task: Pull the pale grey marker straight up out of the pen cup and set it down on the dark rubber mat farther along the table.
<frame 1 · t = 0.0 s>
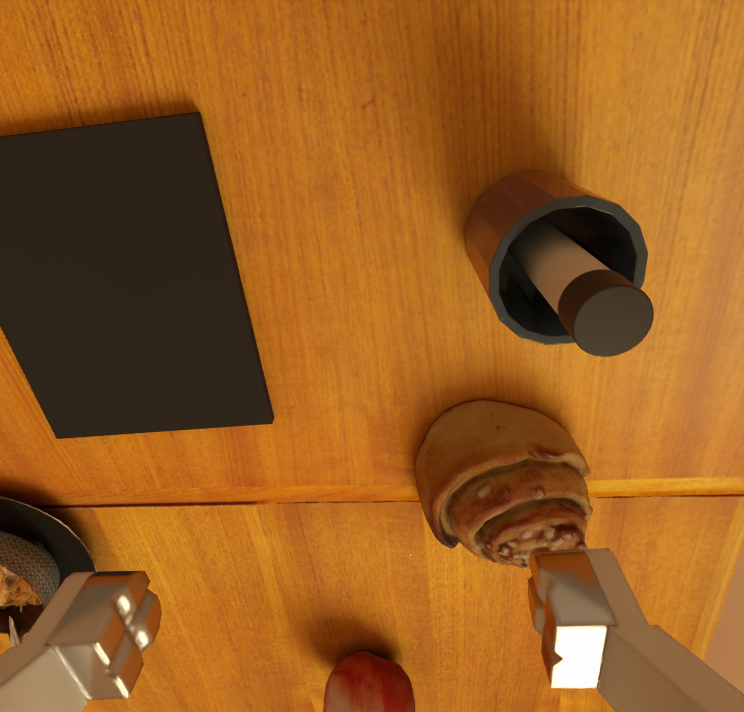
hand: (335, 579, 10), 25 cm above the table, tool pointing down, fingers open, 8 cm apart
marker: (524, 233, 31), point 1 cm above the table, touching pen cup
soup bowl: (29, 547, 47), on the table
pastry: (502, 470, 41), on the table
pen cup: (522, 231, 32), on the table
fruit: (370, 661, 54), on the table
mat: (120, 299, 35), on the table
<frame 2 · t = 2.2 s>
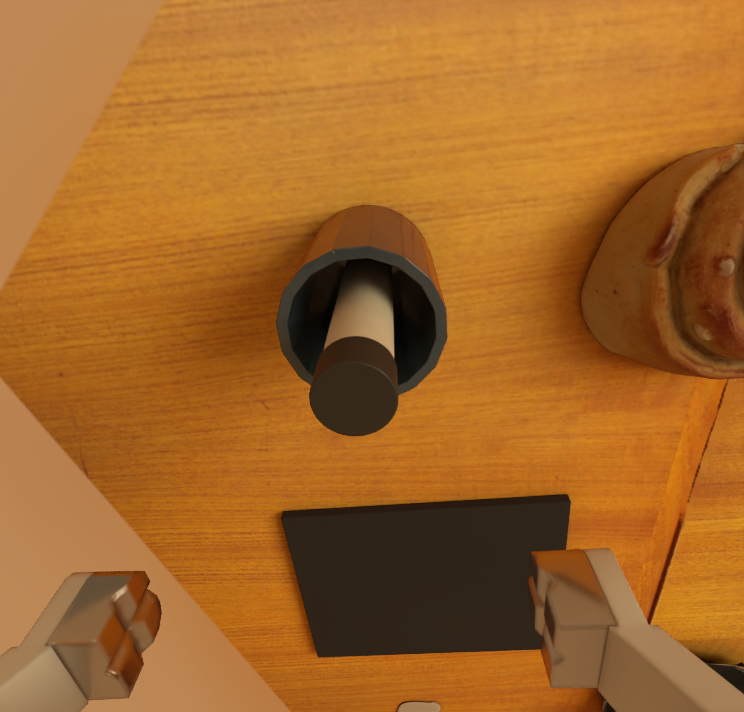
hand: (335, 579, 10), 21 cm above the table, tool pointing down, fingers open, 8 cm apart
marker: (368, 271, 29), point 1 cm above the table, touching pen cup
soup bowl: (681, 689, 49), on the table
pastry: (713, 250, 28), on the table
pen cup: (369, 268, 29), on the table
mat: (428, 580, 42), on the table
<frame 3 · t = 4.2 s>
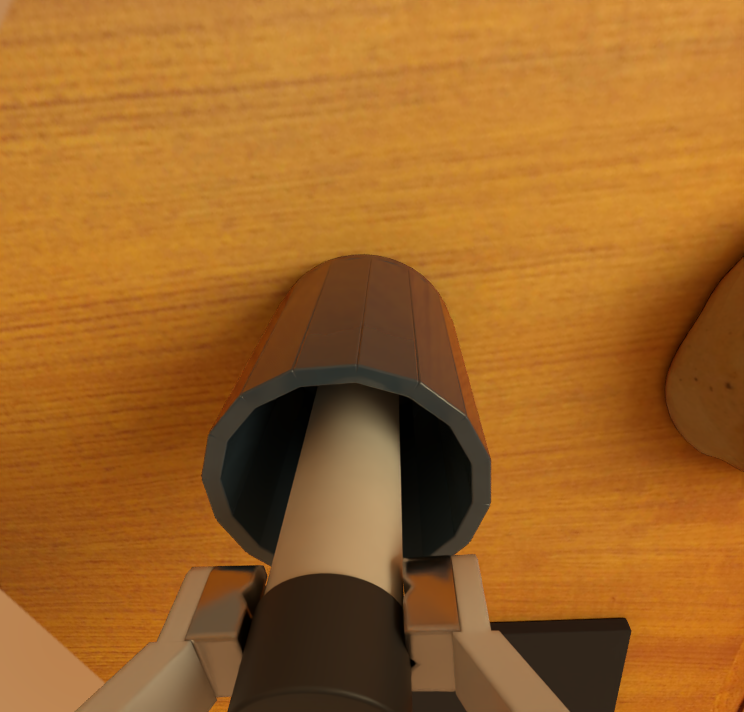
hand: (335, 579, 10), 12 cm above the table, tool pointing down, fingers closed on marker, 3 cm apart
marker: (363, 346, 20), point 1 cm above the table, touching gripper, pen cup
pen cup: (363, 340, 21), on the table
mat: (441, 707, 33), on the table
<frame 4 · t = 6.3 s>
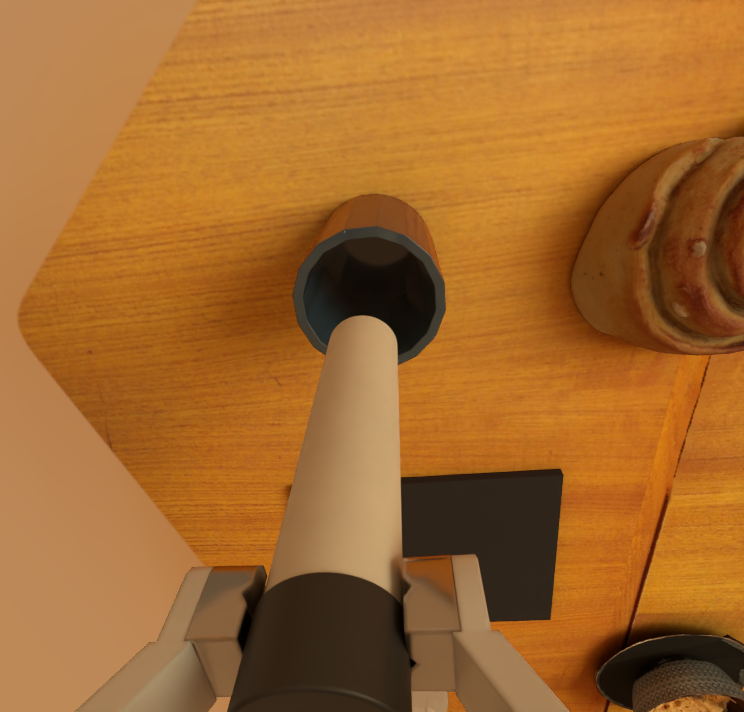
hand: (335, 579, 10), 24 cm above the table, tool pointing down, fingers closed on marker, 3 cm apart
marker: (363, 346, 20), point 13 cm above the table, touching gripper
soup bowl: (671, 662, 51), on the table
pastry: (693, 237, 31), on the table
candle: (415, 704, 56), on the table
pen cup: (375, 252, 32), on the table
mat: (429, 552, 45), on the table
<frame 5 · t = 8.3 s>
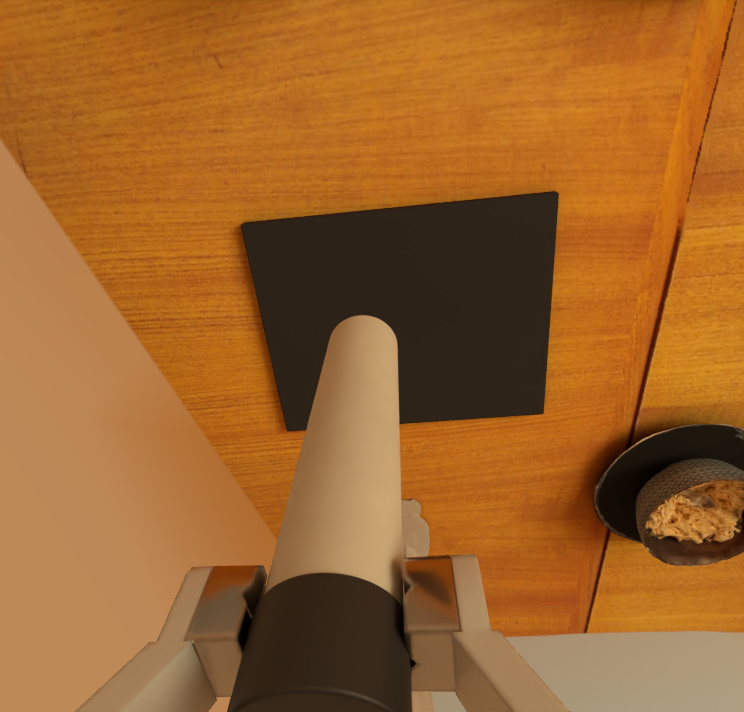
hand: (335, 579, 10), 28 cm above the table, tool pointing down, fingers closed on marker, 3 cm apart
marker: (363, 346, 20), point 17 cm above the table, touching gripper
soup bowl: (678, 479, 45), on the table
candle: (393, 546, 50), on the table
mat: (405, 323, 39), on the table
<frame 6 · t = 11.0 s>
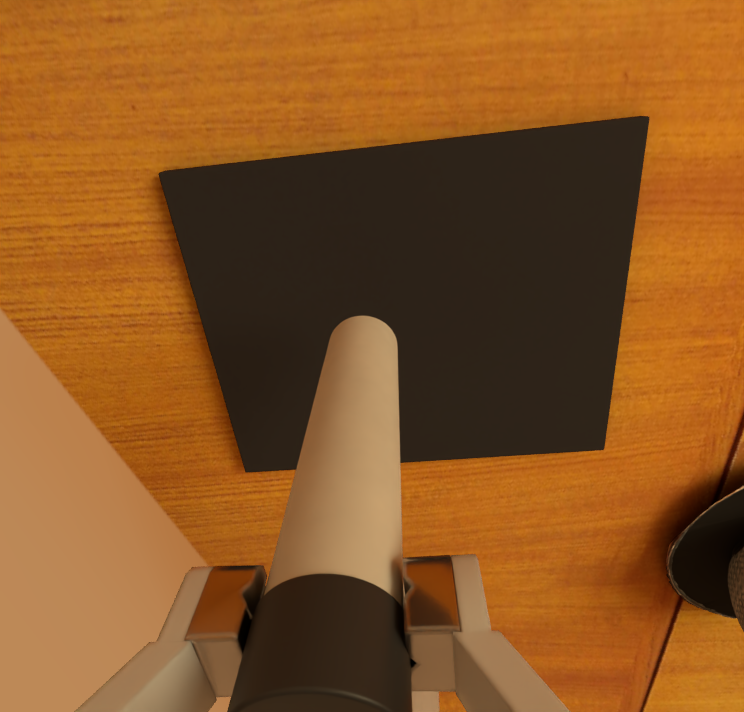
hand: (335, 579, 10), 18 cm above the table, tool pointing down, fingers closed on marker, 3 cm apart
marker: (363, 346, 20), point 7 cm above the table, touching gripper
candle: (393, 615, 38), on the table
mat: (408, 322, 27), on the table
when the fingers open (12 cm above the table, at t = 12.7 s): marker stays where it is, resting on mat.
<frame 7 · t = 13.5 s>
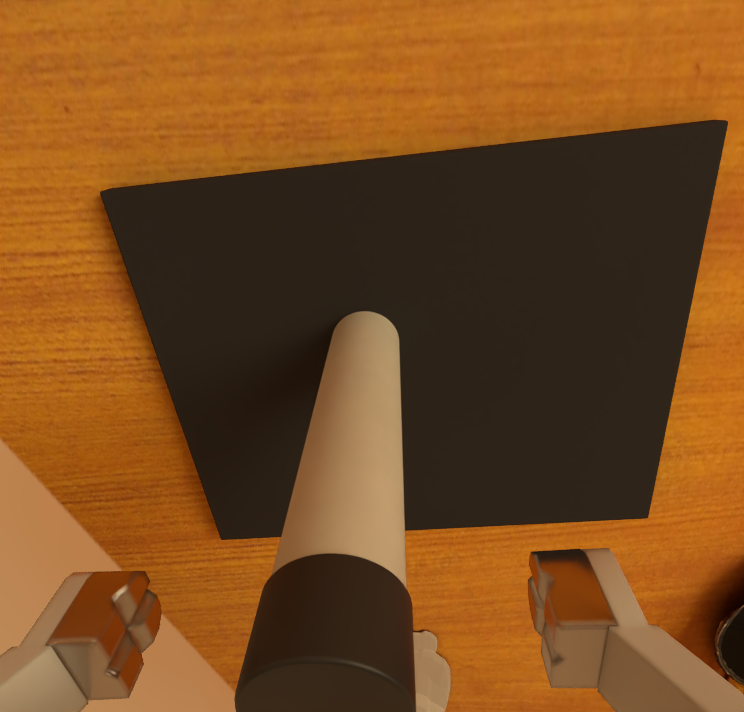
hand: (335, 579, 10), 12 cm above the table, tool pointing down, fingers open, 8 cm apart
marker: (365, 341, 20), point 1 cm above the table, touching mat
candle: (395, 688, 34), on the table
mat: (414, 371, 22), on the table
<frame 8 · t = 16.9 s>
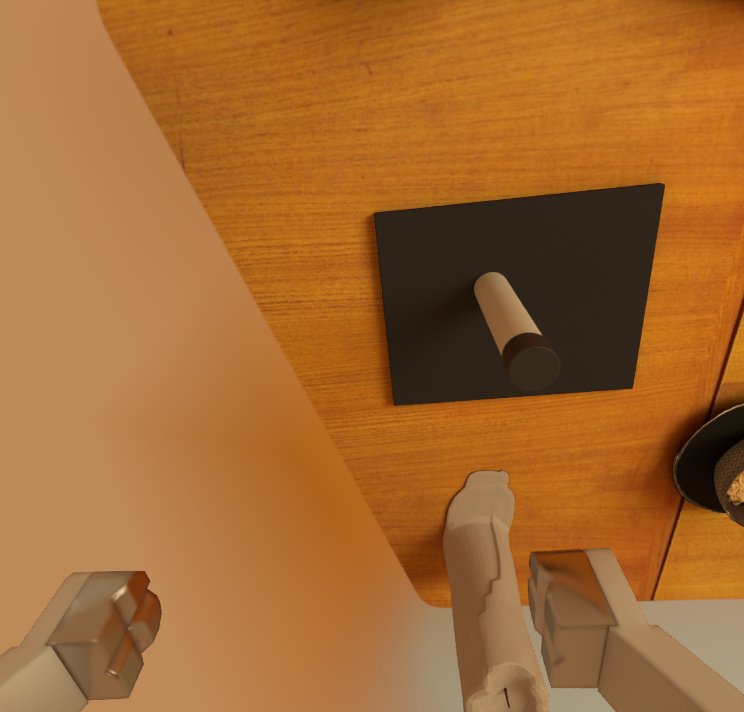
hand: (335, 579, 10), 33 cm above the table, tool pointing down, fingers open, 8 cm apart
marker: (490, 287, 41), point 1 cm above the table, touching mat
candle: (478, 516, 54), on the table
mat: (511, 305, 42), on the table
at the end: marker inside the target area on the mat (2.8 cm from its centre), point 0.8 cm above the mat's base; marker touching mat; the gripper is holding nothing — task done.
